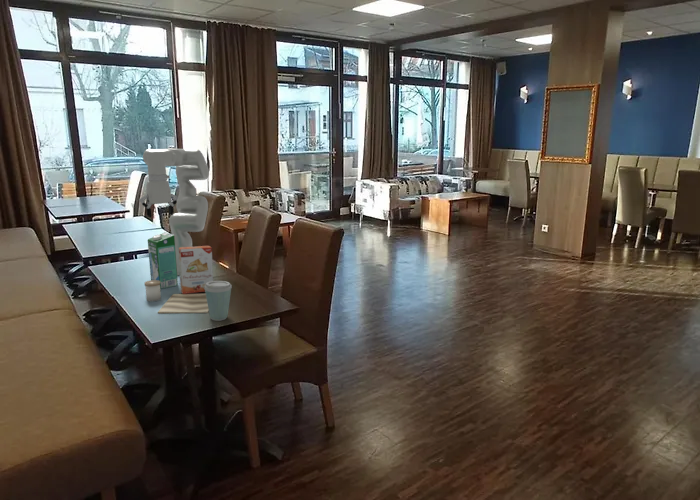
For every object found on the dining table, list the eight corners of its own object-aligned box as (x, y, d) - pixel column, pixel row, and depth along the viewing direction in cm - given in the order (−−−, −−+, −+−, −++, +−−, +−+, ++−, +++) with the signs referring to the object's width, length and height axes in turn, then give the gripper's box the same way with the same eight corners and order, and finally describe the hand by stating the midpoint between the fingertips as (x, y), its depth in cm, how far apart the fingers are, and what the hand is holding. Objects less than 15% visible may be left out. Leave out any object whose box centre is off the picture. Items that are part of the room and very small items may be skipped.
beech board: (173, 295, 223) (173, 293, 223) (217, 294, 225) (217, 293, 224) (157, 313, 201) (157, 312, 201) (207, 312, 202) (207, 311, 202)
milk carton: (151, 285, 237) (146, 234, 231) (168, 281, 243) (165, 231, 237) (160, 289, 231) (156, 237, 225) (178, 285, 237) (174, 234, 231)
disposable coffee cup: (215, 312, 203) (213, 277, 200) (238, 315, 200) (236, 280, 197) (200, 321, 194) (198, 284, 190) (224, 324, 191) (222, 287, 187)
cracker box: (182, 294, 222) (180, 249, 218) (180, 291, 227) (177, 247, 224) (214, 291, 228) (212, 246, 225) (211, 288, 233) (209, 245, 230)
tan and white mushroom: (148, 296, 221) (147, 280, 219) (163, 296, 221) (162, 280, 219) (143, 301, 214) (142, 284, 212) (159, 301, 215) (157, 284, 213)
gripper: (173, 176, 229) (176, 212, 234) (135, 178, 219) (138, 216, 223) (179, 178, 224) (182, 215, 228) (140, 180, 213) (143, 219, 217)
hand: (160, 215), depth 225 cm, fingers open, 9 cm apart
